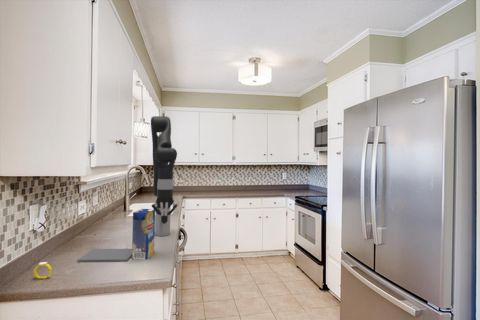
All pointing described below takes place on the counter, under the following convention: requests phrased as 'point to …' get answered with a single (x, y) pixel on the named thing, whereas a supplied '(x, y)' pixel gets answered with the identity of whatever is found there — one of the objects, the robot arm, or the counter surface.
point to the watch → (42, 265)
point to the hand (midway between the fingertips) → (164, 223)
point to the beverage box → (143, 233)
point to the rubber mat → (107, 255)
